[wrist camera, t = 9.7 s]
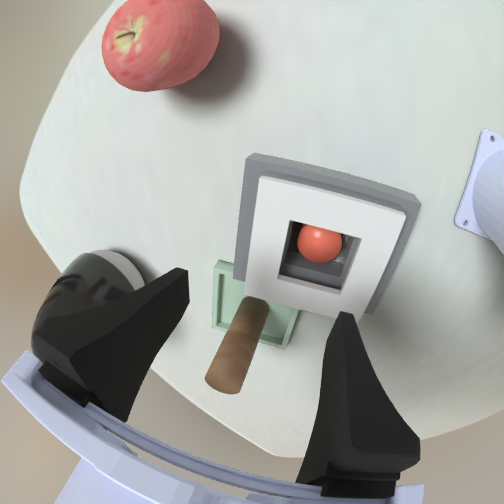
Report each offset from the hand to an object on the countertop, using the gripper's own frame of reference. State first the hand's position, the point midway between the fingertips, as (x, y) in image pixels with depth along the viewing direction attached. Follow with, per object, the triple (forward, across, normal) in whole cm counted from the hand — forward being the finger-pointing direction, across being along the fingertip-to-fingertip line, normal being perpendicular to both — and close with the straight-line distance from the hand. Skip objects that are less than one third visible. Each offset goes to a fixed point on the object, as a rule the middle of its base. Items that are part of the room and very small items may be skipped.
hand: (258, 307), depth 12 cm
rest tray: (+10, +2, +10) cm, 14 cm away
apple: (+10, +10, -12) cm, 19 cm away
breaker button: (+10, -2, +1) cm, 10 cm away
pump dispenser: (+10, +18, +11) cm, 24 cm away
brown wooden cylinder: (+10, +2, +10) cm, 14 cm away
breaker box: (+10, -2, +1) cm, 10 cm away
